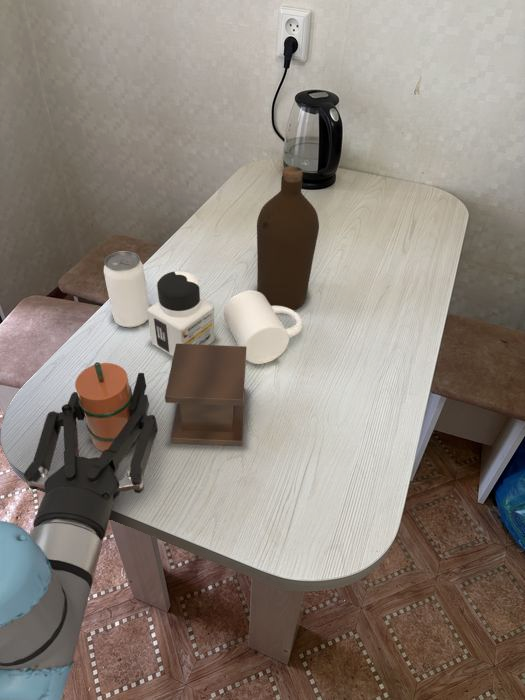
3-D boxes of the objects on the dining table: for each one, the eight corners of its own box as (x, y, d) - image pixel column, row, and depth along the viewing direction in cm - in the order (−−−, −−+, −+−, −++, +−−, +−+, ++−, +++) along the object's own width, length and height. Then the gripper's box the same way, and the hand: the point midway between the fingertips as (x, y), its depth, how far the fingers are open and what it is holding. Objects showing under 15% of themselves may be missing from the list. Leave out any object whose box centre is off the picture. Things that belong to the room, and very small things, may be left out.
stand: (171, 443, 71) (164, 396, 64) (180, 390, 78) (175, 343, 71) (242, 446, 71) (243, 400, 64) (245, 393, 78) (246, 346, 71)
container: (184, 364, 82) (178, 301, 73) (151, 344, 85) (141, 281, 76) (215, 340, 87) (213, 278, 78) (182, 321, 90) (177, 259, 81)
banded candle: (85, 453, 69) (60, 382, 59) (97, 414, 74) (77, 343, 64) (134, 454, 69) (118, 384, 59) (143, 416, 74) (130, 345, 64)
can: (118, 304, 93) (107, 248, 84) (153, 306, 93) (146, 250, 84) (109, 327, 88) (96, 270, 80) (146, 329, 88) (137, 272, 80)
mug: (242, 369, 82) (243, 332, 77) (223, 330, 89) (223, 294, 83) (309, 353, 86) (314, 316, 80) (286, 317, 92) (289, 281, 87)
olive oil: (298, 320, 92) (314, 190, 74) (245, 304, 94) (248, 176, 77) (316, 288, 99) (334, 164, 82) (266, 274, 101) (273, 151, 84)
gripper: (-12, 548, 56) (54, 393, 73) (162, 554, 57) (187, 398, 73) (-37, 514, 51) (40, 356, 68) (155, 521, 52) (184, 362, 68)
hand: (116, 378), depth 71 cm, fingers closed on banded candle, 6 cm apart
